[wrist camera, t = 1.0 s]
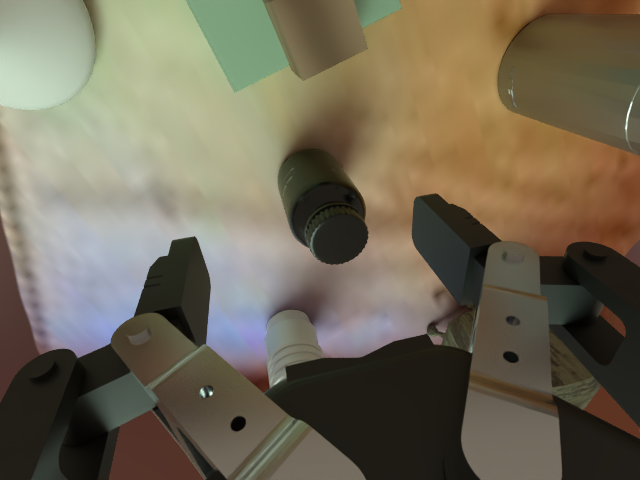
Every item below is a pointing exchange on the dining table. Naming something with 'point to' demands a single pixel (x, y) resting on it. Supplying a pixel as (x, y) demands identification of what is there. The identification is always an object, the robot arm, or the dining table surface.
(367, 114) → the dining table surface
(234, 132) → the dining table surface
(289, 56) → the wooden channel cradle
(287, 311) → the candle
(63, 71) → the flower in vase
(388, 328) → the dining table surface
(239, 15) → the green
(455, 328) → the tabletop clock
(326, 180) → the supplement bottle
